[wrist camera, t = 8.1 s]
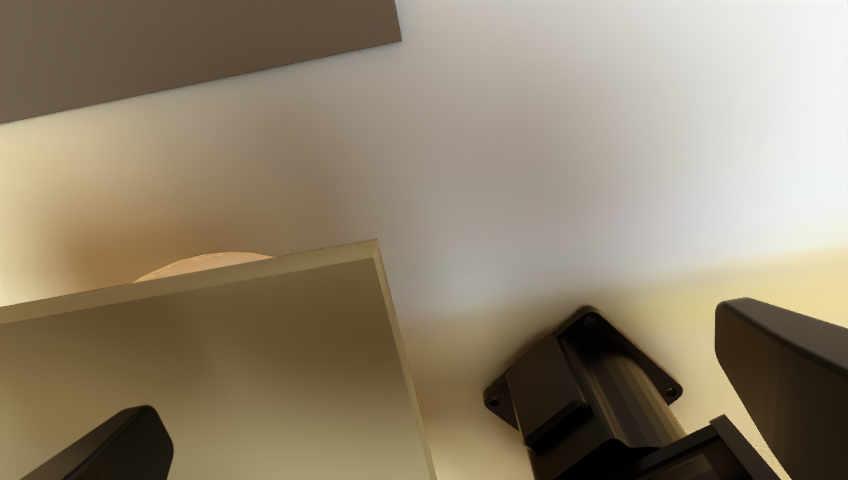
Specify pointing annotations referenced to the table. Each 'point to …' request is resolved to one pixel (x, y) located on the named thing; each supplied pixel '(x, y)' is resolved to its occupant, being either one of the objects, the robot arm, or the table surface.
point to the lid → (224, 371)
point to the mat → (166, 44)
